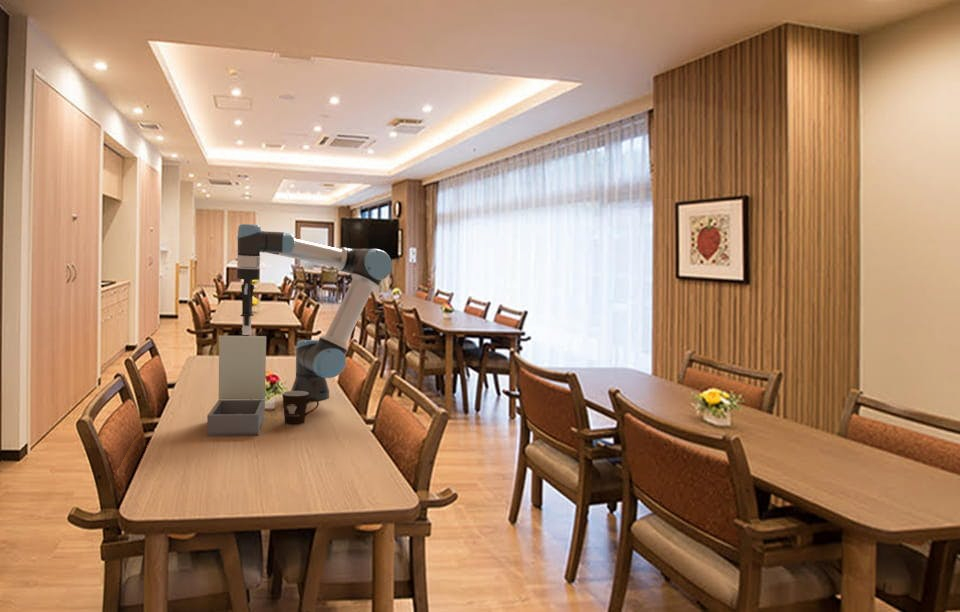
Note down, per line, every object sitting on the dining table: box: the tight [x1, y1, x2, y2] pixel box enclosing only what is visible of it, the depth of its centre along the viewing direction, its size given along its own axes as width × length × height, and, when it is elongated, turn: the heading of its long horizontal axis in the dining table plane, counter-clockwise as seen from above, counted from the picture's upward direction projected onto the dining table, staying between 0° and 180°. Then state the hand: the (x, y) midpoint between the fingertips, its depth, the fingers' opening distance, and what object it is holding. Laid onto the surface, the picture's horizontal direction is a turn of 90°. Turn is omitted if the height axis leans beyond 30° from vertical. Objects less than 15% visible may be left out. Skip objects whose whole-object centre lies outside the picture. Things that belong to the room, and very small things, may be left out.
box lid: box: [218, 335, 267, 401], centre depth 226 cm, size 15×22×1 cm
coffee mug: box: [281, 390, 320, 426], centre depth 225 cm, size 12×9×10 cm
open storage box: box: [206, 399, 266, 437], centre depth 217 cm, size 15×22×6 cm
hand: (246, 334), depth 236 cm, fingers closed
